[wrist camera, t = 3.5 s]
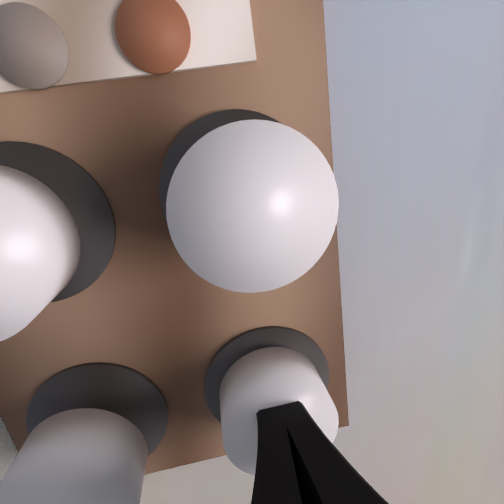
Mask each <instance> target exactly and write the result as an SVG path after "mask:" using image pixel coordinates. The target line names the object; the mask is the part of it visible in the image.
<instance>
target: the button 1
mask: <svg viewBox="0 0 504 504" xmlns="http://www.w3.org/2000/svg"><path fill="white" fill-rule="evenodd" d="M79 258H80V237H79V233H78V229H77V226H76V224H75V221H74V219H73V217H72V215H71V213H70V211H69V210H68V208H67V207H66V206H65V204H64V203H63V201H62V200H61V199H60V198H59V197H58V196H57V195H56V194H55V193H54V192H53V191H52V190H51V189H50V188H48V187H47V186H46V185H45V184H43V183H42V182H40V181H39V180H37V179H36V178H34V177H32V176H30V175H28V174H26V173H24V172H21V171H19V170H16V169H13V168H10V167H6V166H2V165H0V341H3V340H6V339H8V338H10V337H11V336H13V335H15V334H17V333H18V332H20V331H21V330H22V329H24V328H25V327H26V326H27V325H28V324H29V323H30V322H31V321H32V320H33V319H34V318H35V317H36V316H37V315H38V314H39V313H40V312H41V311H42V310H43V309H44V308H45V307H46V306H47V305H48V304H49V303H50V302H51V301H52V300H53V299H54V298H55V297H56V296H57V295H58V294H59V293H60V292H61V291H62V290H63V289H64V288H65V286H66V285H67V284H68V283H69V281H70V280H71V279H72V277H73V275H74V273H75V271H76V269H77V266H78V263H79Z"/></svg>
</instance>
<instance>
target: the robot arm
mask: <svg viewBox="0 0 504 504" xmlns="http://www.w3.org/2000/svg"><path fill="white" fill-rule="evenodd" d="M256 416H257V425H258V445H257V460H256V471H255V481H254V488H253V494H252V501H251V504H388V503H387V502H386V501H385V500H384V499H383V498H382V497H381V496H380V495H379V494H378V493H377V492H376V491H375V490H374V489H373V488H372V487H371V486H370V485H369V484H368V483H367V482H366V481H365V479H364V478H363V477H362V476H361V475H360V474H359V473H358V472H357V471H356V470H355V469H354V468H353V467H352V466H351V465H350V463H349V462H348V461H347V460H346V459H345V458H344V457H343V455H342V454H341V453H340V452H339V451H338V450H337V449H336V447H335V446H334V445H333V444H332V443H331V441H330V440H329V439H328V438H327V437H326V435H325V434H324V433H323V431H322V430H321V429H320V428H319V426H318V425H317V424H316V422H315V421H314V420H313V418H312V417H311V415H310V414H309V413H308V411H307V410H306V408H305V407H304V405H303V403H301V402H300V401H296V402H292V403H288V404H283V405H279V406H275V407H270V408H266V409H262V410H259V411H258V412H257V413H256Z"/></svg>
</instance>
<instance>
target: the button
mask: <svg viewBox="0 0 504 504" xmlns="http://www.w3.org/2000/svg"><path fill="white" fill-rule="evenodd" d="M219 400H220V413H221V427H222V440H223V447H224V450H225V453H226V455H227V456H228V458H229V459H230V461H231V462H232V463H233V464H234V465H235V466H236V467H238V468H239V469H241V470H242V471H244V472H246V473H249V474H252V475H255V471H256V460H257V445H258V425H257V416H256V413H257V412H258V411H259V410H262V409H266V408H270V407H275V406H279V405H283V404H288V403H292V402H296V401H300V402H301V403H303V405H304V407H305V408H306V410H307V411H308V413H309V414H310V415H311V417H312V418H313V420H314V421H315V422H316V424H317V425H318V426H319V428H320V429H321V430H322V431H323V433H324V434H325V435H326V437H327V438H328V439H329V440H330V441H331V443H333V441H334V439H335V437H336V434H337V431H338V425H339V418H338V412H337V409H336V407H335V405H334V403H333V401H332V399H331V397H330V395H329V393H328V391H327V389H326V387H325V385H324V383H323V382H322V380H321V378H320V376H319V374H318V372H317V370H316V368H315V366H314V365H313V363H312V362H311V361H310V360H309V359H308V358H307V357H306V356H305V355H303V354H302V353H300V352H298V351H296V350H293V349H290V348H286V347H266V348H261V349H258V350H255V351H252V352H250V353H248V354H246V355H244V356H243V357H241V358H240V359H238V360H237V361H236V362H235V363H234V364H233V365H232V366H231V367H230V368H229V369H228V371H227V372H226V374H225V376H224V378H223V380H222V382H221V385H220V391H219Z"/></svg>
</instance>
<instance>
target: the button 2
mask: <svg viewBox="0 0 504 504" xmlns="http://www.w3.org/2000/svg"><path fill="white" fill-rule="evenodd" d="M147 456H148V450H147V444H146V441H145V438H144V436H143V435H142V433H141V431H140V430H139V429H138V428H137V427H136V426H135V425H134V424H133V423H132V422H130V421H129V420H127V419H126V418H124V417H122V416H120V415H118V414H116V413H113V412H110V411H106V410H101V409H94V408H81V409H72V410H67V411H64V412H60V413H58V414H55V415H53V416H51V417H49V418H47V419H45V420H44V421H42V422H41V423H39V424H38V425H37V426H36V427H35V428H34V429H33V430H32V432H31V433H30V434H29V436H28V437H27V439H26V441H25V442H24V444H23V446H22V447H21V449H20V451H19V452H18V454H17V456H16V457H15V459H14V461H13V462H12V464H11V466H10V467H9V469H8V471H7V472H6V474H5V476H4V477H3V479H2V481H1V482H0V504H139V503H140V497H141V491H142V485H143V480H144V474H145V468H146V462H147Z"/></svg>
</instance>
